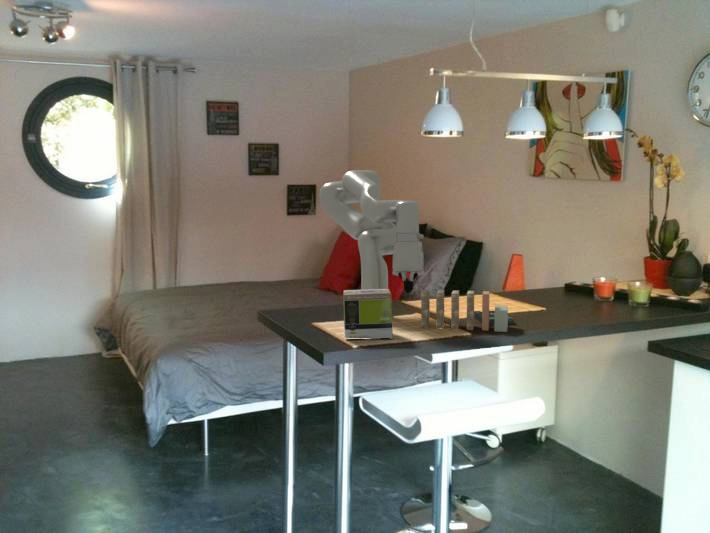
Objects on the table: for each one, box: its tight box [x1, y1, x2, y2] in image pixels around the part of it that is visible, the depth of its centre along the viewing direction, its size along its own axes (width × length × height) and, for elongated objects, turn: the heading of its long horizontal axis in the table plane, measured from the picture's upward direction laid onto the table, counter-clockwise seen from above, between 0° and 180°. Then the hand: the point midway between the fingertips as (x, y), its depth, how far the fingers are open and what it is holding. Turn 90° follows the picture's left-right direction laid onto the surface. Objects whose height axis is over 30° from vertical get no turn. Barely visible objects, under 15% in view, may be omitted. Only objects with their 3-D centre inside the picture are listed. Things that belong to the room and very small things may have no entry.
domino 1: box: [420, 289, 431, 329], centre depth 241 cm, size 2×6×12 cm, turn 167°
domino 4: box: [466, 290, 475, 331], centre depth 238 cm, size 2×6×12 cm, turn 167°
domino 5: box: [481, 290, 490, 331], centre depth 237 cm, size 2×6×12 cm, turn 167°
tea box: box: [342, 288, 394, 340], centre depth 227 cm, size 15×10×15 cm
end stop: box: [493, 305, 509, 333], centre depth 236 cm, size 4×8×7 cm, turn 167°
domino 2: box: [435, 289, 445, 328], centre depth 240 cm, size 2×6×12 cm, turn 167°
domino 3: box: [450, 290, 460, 330], centre depth 239 cm, size 2×6×12 cm, turn 167°
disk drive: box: [474, 310, 515, 326], centre depth 249 cm, size 10×3×15 cm
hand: (408, 292), depth 241 cm, fingers closed
